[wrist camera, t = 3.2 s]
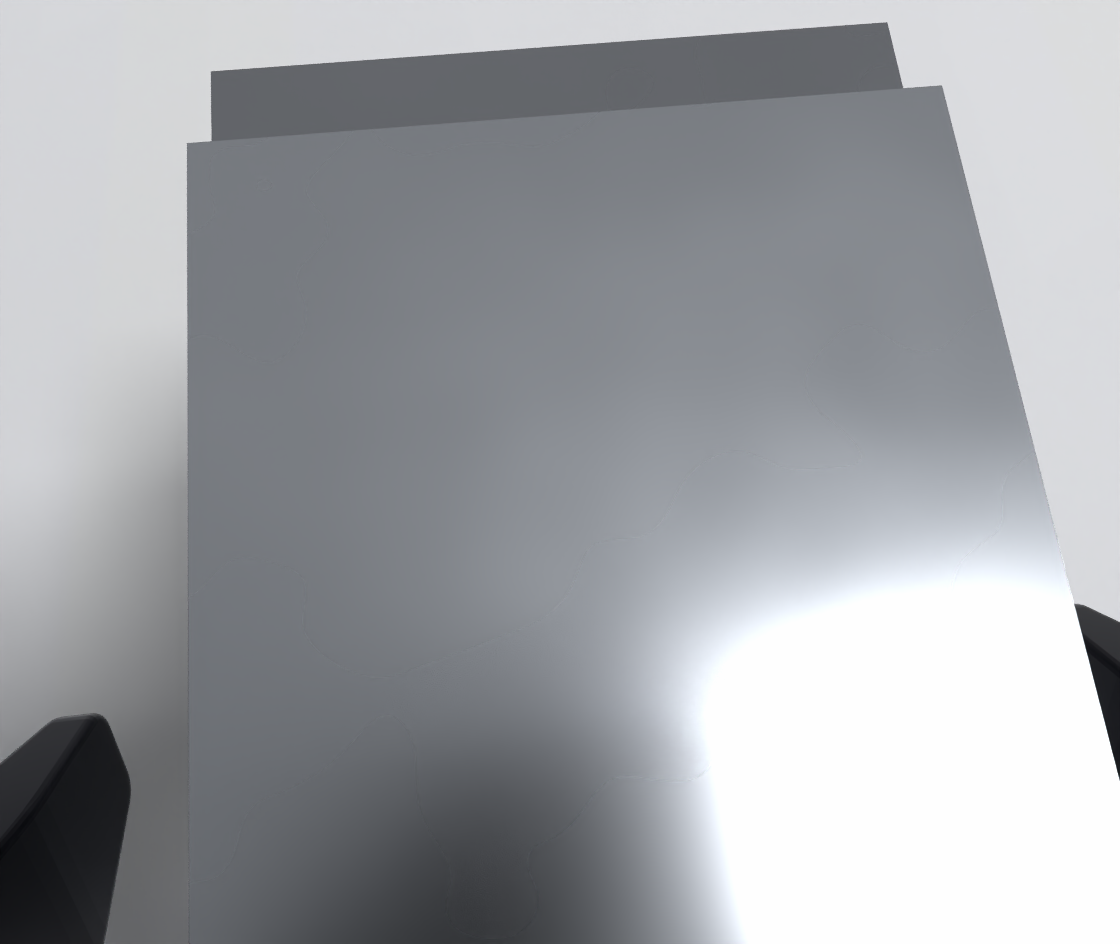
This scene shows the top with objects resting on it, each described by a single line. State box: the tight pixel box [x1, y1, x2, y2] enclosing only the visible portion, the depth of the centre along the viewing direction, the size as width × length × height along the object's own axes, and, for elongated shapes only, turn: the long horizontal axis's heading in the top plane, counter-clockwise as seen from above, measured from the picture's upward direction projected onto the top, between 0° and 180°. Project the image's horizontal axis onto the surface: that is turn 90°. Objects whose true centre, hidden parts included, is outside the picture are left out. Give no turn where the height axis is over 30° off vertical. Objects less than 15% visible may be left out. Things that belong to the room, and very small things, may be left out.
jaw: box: [187, 22, 1120, 944], centre depth 12 cm, size 5×6×12 cm
